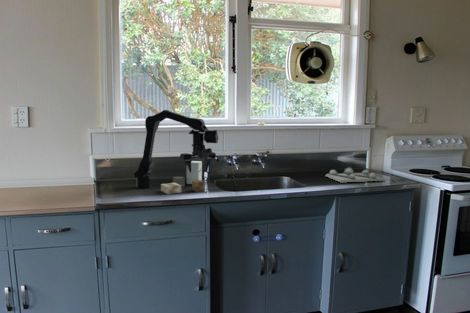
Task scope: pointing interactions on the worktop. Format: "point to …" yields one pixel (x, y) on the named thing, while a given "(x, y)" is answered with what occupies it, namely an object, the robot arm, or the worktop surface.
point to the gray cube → (179, 180)
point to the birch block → (170, 188)
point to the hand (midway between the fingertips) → (198, 171)
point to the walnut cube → (198, 185)
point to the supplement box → (194, 172)
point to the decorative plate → (353, 176)
